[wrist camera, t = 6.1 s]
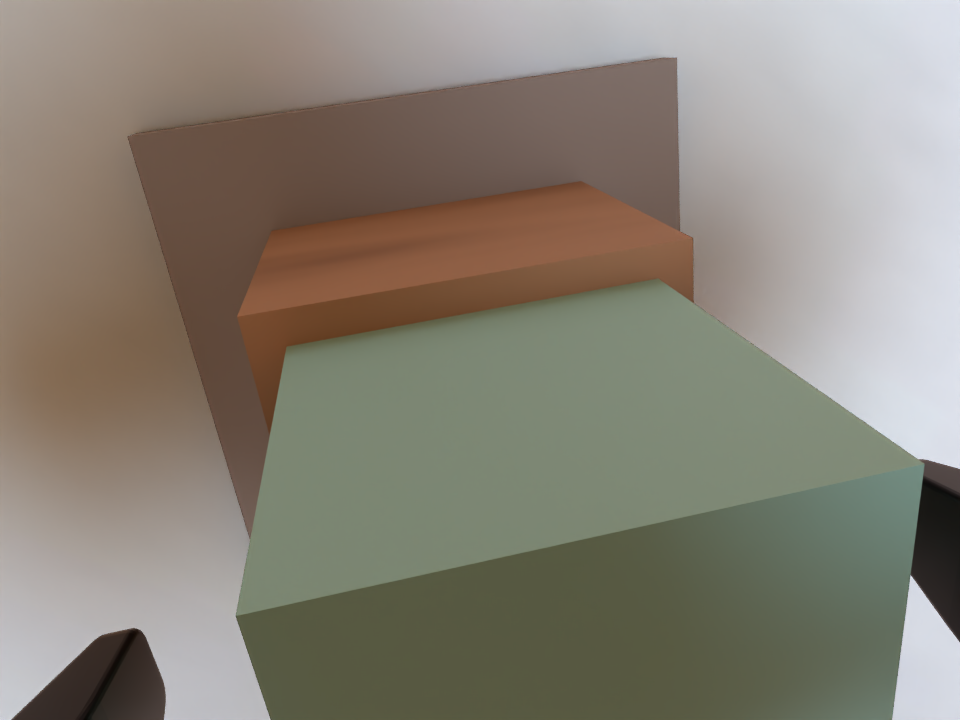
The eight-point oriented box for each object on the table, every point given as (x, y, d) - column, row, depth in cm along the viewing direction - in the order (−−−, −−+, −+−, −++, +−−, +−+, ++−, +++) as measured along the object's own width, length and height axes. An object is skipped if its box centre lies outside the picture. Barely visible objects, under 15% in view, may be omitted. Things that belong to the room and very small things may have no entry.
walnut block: (600, 446, 17) (696, 591, 12) (336, 499, 16) (334, 674, 12) (581, 180, 14) (692, 238, 10) (271, 230, 14) (237, 316, 9)
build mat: (674, 489, 18) (684, 502, 18) (268, 575, 17) (265, 592, 17) (664, 57, 14) (676, 57, 14) (136, 133, 13) (128, 136, 13)
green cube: (668, 572, 12) (870, 889, 7) (361, 642, 11) (375, 1030, 7) (658, 278, 10) (923, 463, 5) (286, 346, 9) (235, 616, 5)
